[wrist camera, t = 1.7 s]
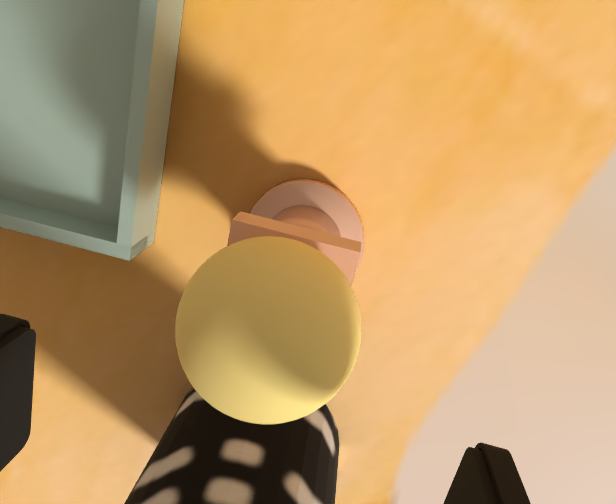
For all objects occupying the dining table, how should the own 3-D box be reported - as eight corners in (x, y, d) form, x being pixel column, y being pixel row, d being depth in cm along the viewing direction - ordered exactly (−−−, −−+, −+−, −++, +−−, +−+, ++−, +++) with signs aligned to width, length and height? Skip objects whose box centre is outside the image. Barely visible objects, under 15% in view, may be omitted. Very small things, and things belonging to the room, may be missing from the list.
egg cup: (259, 165, 20) (218, 199, 15) (378, 195, 20) (381, 241, 15) (238, 274, 22) (194, 341, 17) (347, 302, 22) (340, 380, 16)
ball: (221, 197, 15) (156, 251, 10) (381, 238, 15) (387, 311, 10) (197, 337, 17) (132, 437, 12) (340, 375, 17) (329, 491, 12)
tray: (-103, -271, 17) (-175, -324, 15) (209, -199, 17) (184, -242, 14) (-81, 181, 22) (-130, 193, 20) (153, 242, 22) (129, 260, 20)
